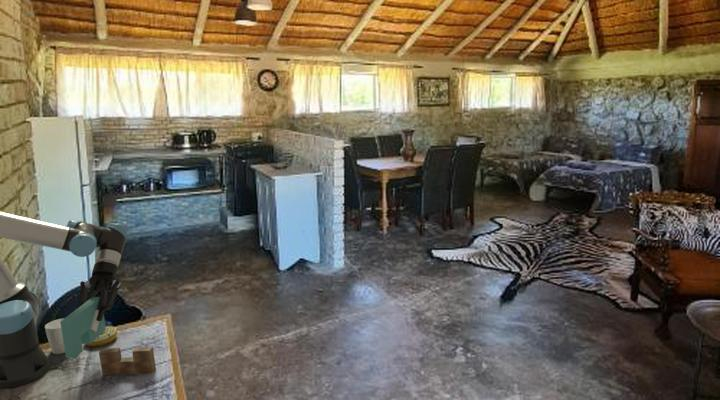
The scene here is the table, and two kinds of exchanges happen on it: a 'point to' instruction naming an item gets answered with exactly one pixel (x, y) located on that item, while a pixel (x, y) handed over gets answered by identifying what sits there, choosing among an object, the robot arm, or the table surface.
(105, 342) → the decorated donut
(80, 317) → the teal upright panel
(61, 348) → the white cup
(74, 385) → the table surface
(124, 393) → the table surface
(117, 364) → the walnut slotted plate
